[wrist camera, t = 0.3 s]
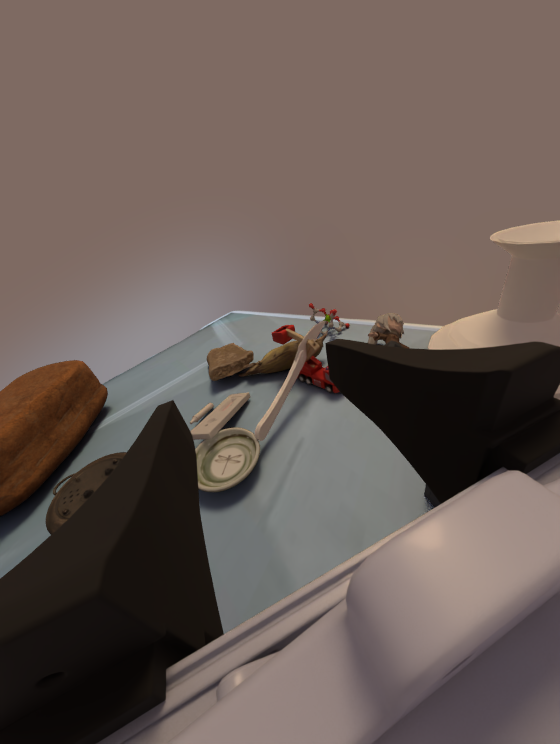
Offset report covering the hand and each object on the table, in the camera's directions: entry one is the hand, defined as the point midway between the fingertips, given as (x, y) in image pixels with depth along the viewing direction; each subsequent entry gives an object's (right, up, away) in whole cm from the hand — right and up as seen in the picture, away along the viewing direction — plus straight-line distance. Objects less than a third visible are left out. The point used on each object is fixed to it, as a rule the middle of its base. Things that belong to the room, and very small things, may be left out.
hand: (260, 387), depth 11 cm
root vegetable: (0, +6, +39) cm, 39 cm away
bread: (-43, -4, +27) cm, 50 cm away
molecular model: (+10, +14, +53) cm, 56 cm away
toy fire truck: (+7, -1, +35) cm, 35 cm away
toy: (+21, +3, +35) cm, 41 cm away
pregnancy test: (-8, -7, +30) cm, 32 cm away
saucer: (-6, -12, +23) cm, 26 cm away
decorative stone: (-14, +8, +49) cm, 52 cm away
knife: (+4, +2, +28) cm, 28 cm away
